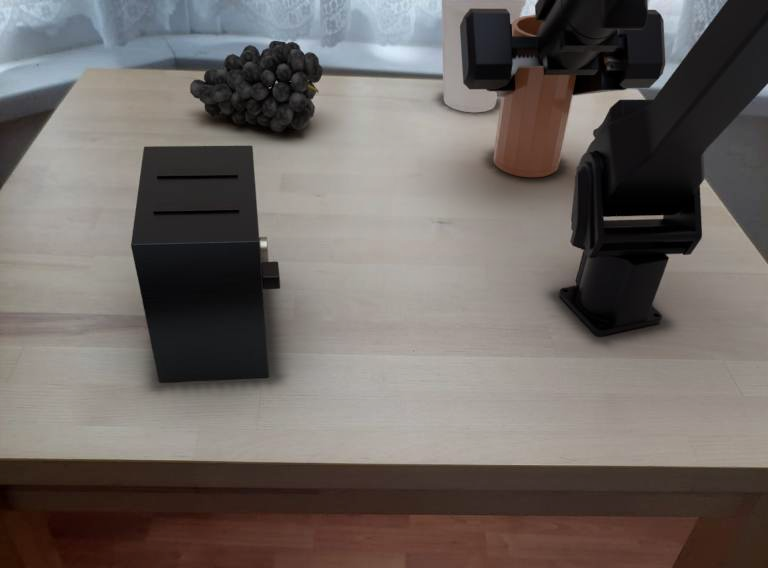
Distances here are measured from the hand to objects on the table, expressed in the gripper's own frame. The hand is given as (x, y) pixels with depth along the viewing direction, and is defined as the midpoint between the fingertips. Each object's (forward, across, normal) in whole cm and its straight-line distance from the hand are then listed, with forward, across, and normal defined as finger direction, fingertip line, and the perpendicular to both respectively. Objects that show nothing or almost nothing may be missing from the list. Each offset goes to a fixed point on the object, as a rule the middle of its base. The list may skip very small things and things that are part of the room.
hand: (533, 91), depth 80 cm
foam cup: (+16, +2, -6) cm, 17 cm away
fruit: (+12, +28, -2) cm, 30 cm away
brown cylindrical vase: (+4, 0, +6) cm, 7 cm away
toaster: (-16, +33, +25) cm, 44 cm away
